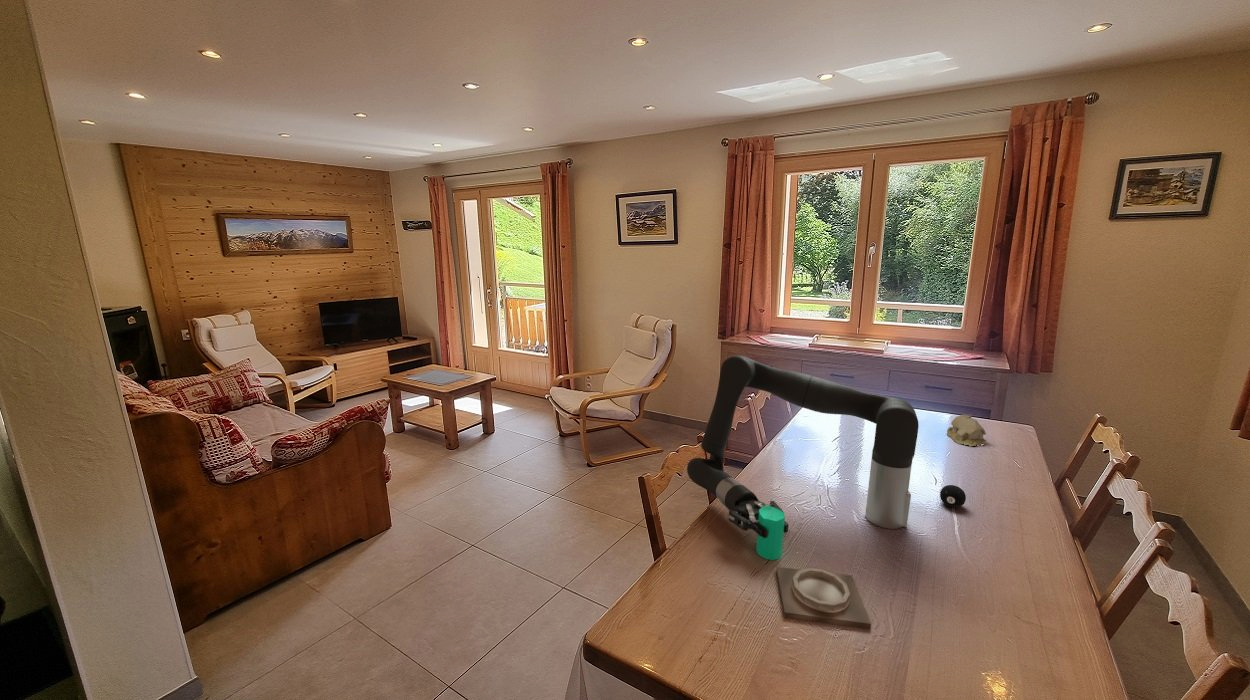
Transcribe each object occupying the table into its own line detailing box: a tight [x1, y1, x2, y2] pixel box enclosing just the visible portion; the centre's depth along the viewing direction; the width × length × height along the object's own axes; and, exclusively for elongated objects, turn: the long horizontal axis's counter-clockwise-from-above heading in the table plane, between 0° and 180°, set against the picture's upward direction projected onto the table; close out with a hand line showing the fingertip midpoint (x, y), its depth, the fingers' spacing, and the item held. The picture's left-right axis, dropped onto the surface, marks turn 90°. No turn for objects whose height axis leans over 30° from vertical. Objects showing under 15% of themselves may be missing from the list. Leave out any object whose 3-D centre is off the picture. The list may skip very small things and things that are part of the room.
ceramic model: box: [946, 414, 987, 447], centre depth 180 cm, size 14×11×10 cm
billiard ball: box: [939, 484, 967, 508], centre depth 135 cm, size 6×6×6 cm
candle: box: [755, 506, 786, 561], centre depth 114 cm, size 6×6×12 cm
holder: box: [775, 566, 872, 630], centre depth 100 cm, size 16×14×3 cm
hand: (776, 531), depth 112 cm, fingers closed on candle, 5 cm apart
